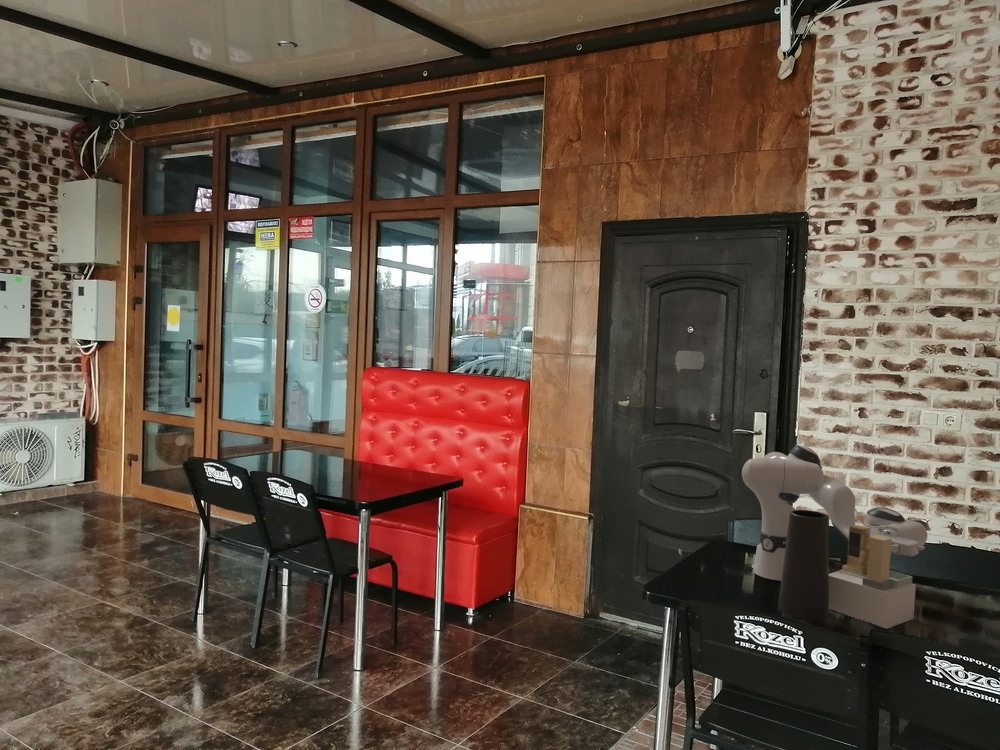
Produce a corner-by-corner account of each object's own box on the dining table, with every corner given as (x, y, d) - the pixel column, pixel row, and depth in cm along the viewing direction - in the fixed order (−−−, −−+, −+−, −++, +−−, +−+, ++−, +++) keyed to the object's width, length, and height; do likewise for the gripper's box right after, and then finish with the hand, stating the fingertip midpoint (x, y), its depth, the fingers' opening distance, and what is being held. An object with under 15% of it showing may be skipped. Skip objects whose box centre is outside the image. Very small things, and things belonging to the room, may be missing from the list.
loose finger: (852, 567, 244) (855, 523, 244) (871, 572, 240) (875, 528, 239) (842, 570, 241) (845, 525, 240) (861, 575, 236) (864, 530, 235)
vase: (769, 610, 234) (775, 512, 232) (791, 600, 243) (797, 506, 242) (815, 624, 224) (822, 521, 222) (836, 613, 234) (842, 515, 232)
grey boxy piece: (850, 599, 247) (856, 522, 246) (913, 618, 232) (919, 536, 230) (823, 607, 238) (828, 527, 237) (886, 628, 223) (892, 543, 221)
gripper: (926, 557, 243) (903, 564, 234) (861, 542, 259) (838, 547, 251) (928, 537, 242) (905, 543, 234) (863, 522, 258) (839, 527, 250)
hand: (870, 545), depth 242 cm, fingers open, 8 cm apart
